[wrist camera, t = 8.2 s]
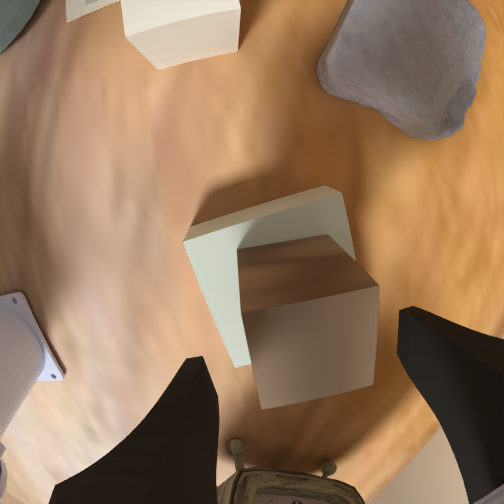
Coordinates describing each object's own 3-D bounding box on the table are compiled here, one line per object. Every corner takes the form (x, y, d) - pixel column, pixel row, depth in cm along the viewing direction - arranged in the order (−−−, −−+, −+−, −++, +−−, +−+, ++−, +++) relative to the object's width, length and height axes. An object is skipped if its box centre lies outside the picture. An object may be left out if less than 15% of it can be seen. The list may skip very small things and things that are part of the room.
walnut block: (251, 328, 17) (261, 409, 11) (236, 249, 15) (240, 312, 10) (332, 312, 17) (373, 384, 11) (327, 234, 15) (379, 285, 10)
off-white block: (158, 70, 15) (125, 37, 9) (147, 7, 13) (117, -40, 8) (237, 51, 15) (240, 8, 9) (222, -11, 13) (220, -66, 8)
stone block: (455, 31, 16) (357, -50, 12) (500, 29, 12) (398, -74, 8) (411, 153, 19) (293, 80, 16) (460, 168, 15) (332, 73, 12)
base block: (234, 335, 21) (235, 368, 18) (191, 224, 18) (182, 241, 15) (347, 299, 21) (366, 326, 17) (322, 184, 18) (341, 192, 15)
